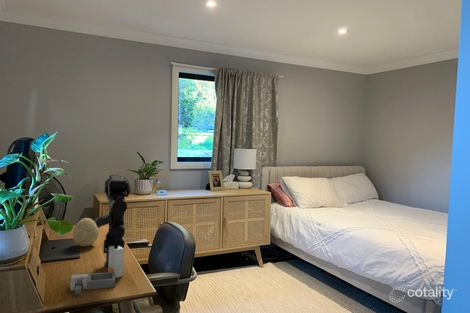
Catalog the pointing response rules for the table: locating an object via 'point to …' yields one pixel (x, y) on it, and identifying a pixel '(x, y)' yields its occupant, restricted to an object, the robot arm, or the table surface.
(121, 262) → the skincare box
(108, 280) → the socket
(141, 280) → the table surface
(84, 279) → the pin mount
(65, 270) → the table surface
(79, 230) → the fossilized egg
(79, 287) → the lock pin
